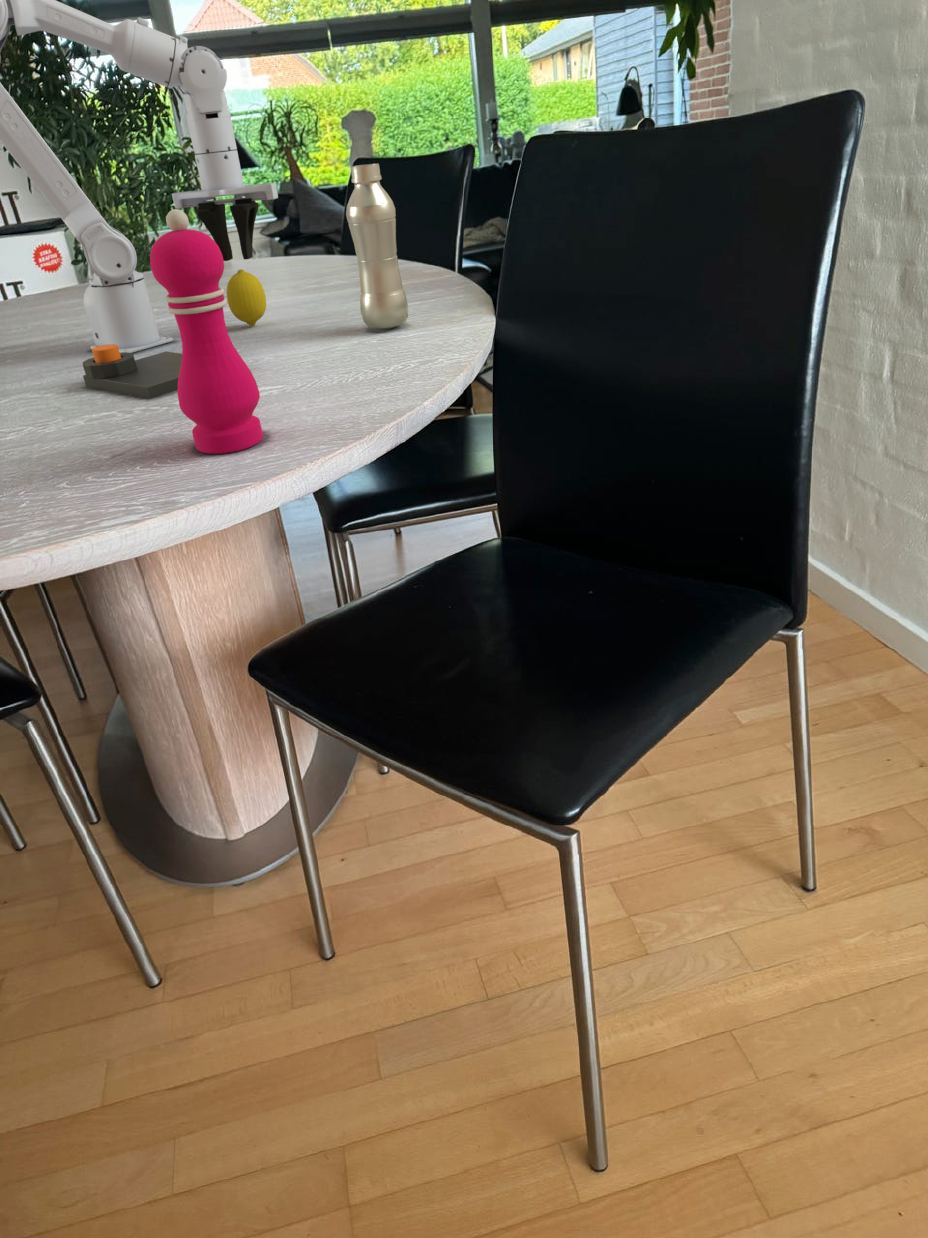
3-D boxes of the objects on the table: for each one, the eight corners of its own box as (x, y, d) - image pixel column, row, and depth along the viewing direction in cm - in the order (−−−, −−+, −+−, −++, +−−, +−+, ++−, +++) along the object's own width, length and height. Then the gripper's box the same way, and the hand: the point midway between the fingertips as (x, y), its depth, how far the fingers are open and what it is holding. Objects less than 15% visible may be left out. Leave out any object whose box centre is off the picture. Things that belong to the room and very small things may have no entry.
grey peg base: (81, 387, 106) (73, 362, 104) (166, 361, 114) (160, 338, 112) (147, 400, 98) (140, 373, 96) (235, 371, 106) (229, 346, 104)
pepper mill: (198, 434, 84) (141, 209, 74) (272, 426, 85) (225, 200, 74) (184, 460, 78) (119, 218, 68) (264, 450, 78) (211, 208, 68)
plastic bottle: (420, 323, 120) (401, 160, 110) (391, 334, 115) (368, 166, 105) (383, 321, 123) (361, 163, 113) (353, 332, 119) (328, 169, 109)
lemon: (262, 329, 126) (250, 271, 122) (227, 331, 128) (214, 273, 124) (276, 321, 131) (265, 264, 127) (243, 322, 132) (231, 267, 128)
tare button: (91, 363, 105) (86, 349, 104) (113, 357, 107) (108, 343, 106) (104, 366, 103) (100, 351, 102) (126, 359, 105) (122, 344, 104)
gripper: (153, 159, 115) (179, 267, 122) (257, 148, 113) (278, 259, 120) (174, 156, 121) (198, 259, 128) (273, 145, 119) (292, 251, 126)
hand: (238, 259), depth 125 cm, fingers closed
